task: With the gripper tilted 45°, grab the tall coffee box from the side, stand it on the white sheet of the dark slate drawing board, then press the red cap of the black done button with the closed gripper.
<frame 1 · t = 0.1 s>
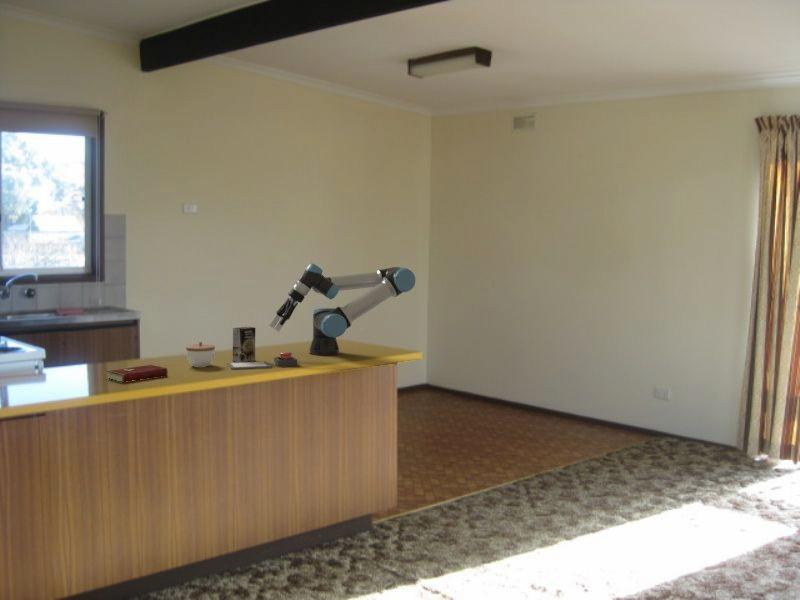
hand: (273, 328, 382), 15 cm above the countertop, tool tilted 35°, fingers open, 13 cm apart
coffee box: (244, 361, 378), on the countertop
drawing board: (249, 366, 364), on the countertop
done button housing: (285, 364, 370), on the countertop
done button: (285, 356, 370), point 4 cm above the countertop, slide at 0.0 cm
lidded bowl: (200, 366, 363), on the countertop
hardcover book: (137, 379, 334), on the countertop
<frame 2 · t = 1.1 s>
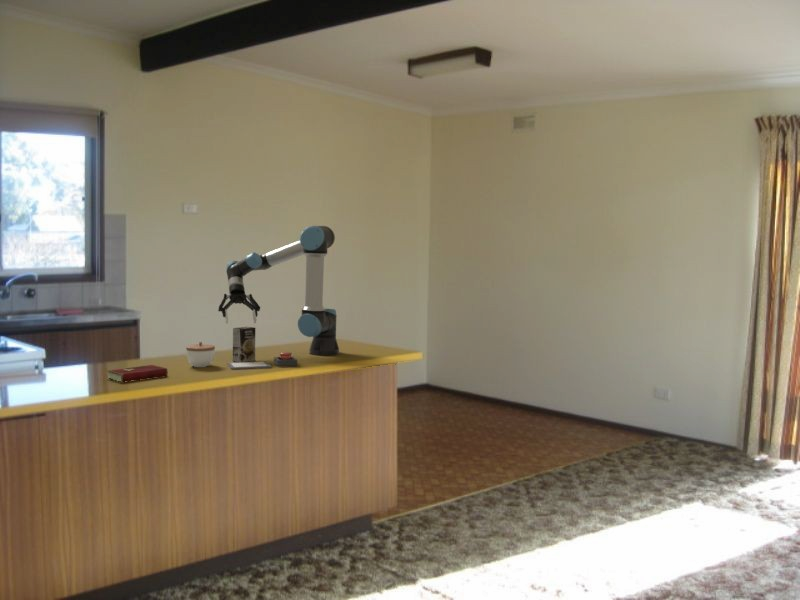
hand: (241, 321, 385), 18 cm above the countertop, tool tilted 45°, fingers open, 13 cm apart
nothing on the countertop moved.
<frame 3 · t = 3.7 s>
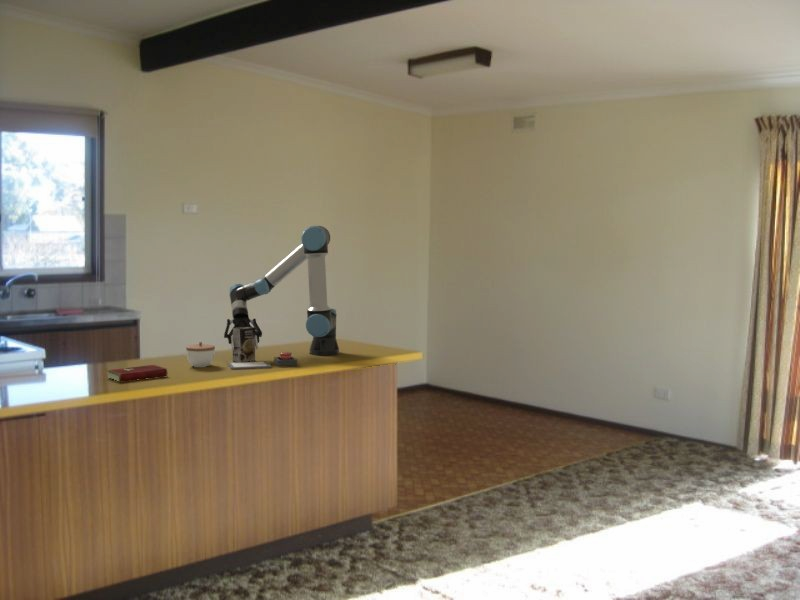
hand: (245, 348, 374), 7 cm above the countertop, tool tilted 45°, fingers closed on coffee box, 11 cm apart
coffee box: (244, 361, 378), on the countertop, touching gripper
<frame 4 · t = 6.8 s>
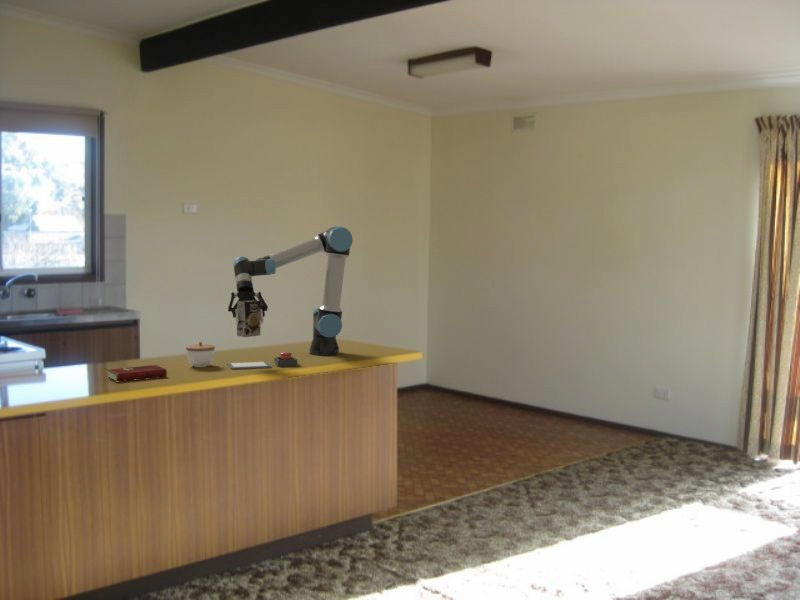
hand: (250, 322, 360), 21 cm above the countertop, tool tilted 45°, fingers closed on coffee box, 11 cm apart
coffee box: (248, 336, 363), point 14 cm above the countertop, touching gripper
when the fingers open (9 cm above the countertop, at t = 10.4 s): coffee box drops 1 cm, resting on drawing board.
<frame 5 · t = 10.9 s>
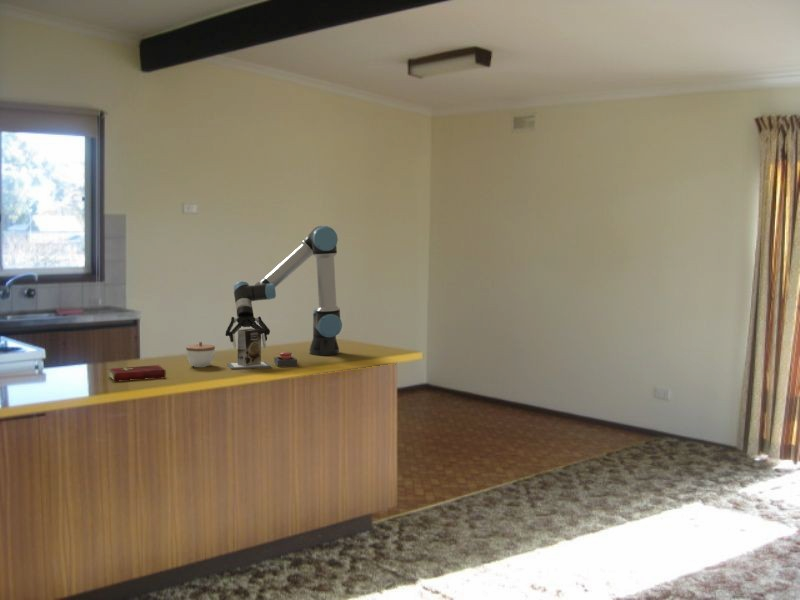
hand: (249, 346, 361), 9 cm above the countertop, tool tilted 45°, fingers open, 13 cm apart
coffee box: (249, 364, 365), point 1 cm above the countertop, touching drawing board
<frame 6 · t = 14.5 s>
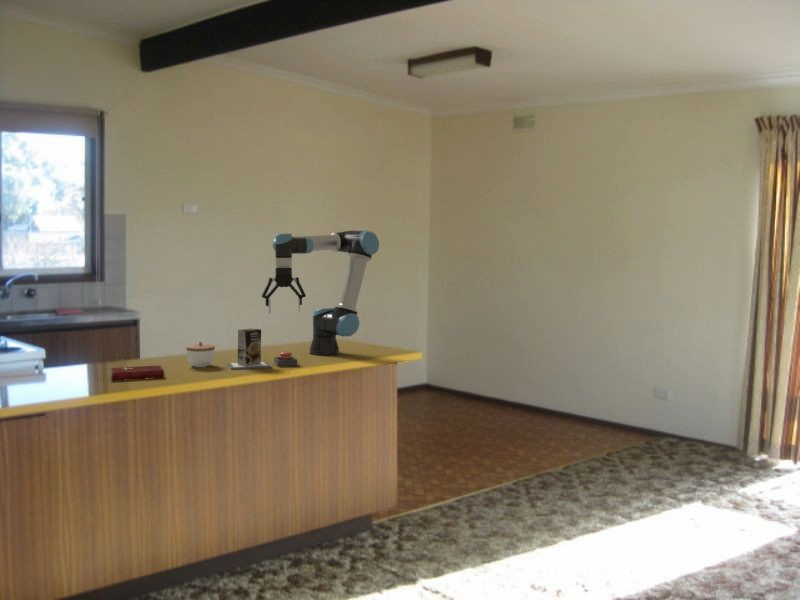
hand: (283, 312, 368), 24 cm above the countertop, tool pointing down, fingers open, 13 cm apart
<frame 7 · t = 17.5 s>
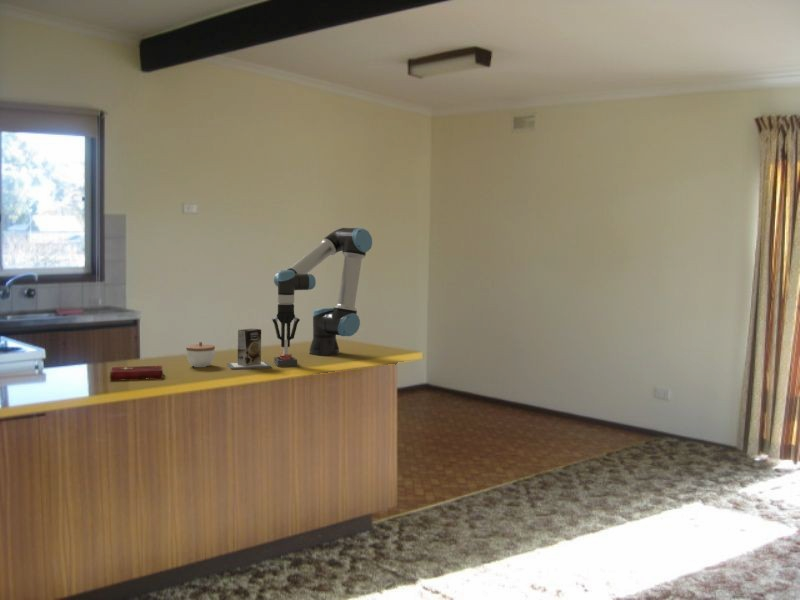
hand: (285, 354, 370), 5 cm above the countertop, tool pointing down, fingers closed
done button: (285, 357, 370), point 3 cm above the countertop, slide at 0.8 cm, touching gripper
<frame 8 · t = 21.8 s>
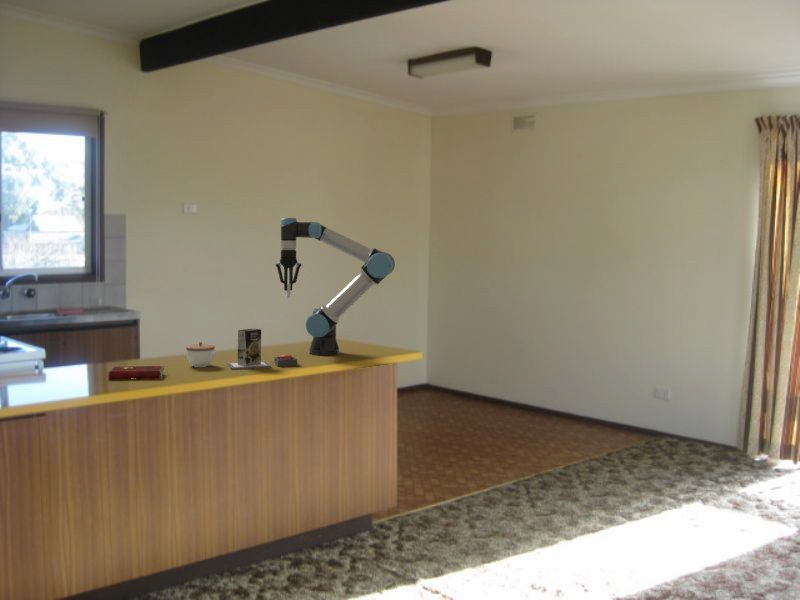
hand: (288, 297, 391), 29 cm above the countertop, tool pointing down, fingers closed
done button: (285, 358, 370), point 3 cm above the countertop, slide at 1.2 cm
at the end: coffee box inside the target area on the drawing board (0.2 cm from its centre), point 0.7 cm above the drawing board's base; coffee box tilted 0°; done button slide at 1.2 cm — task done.
